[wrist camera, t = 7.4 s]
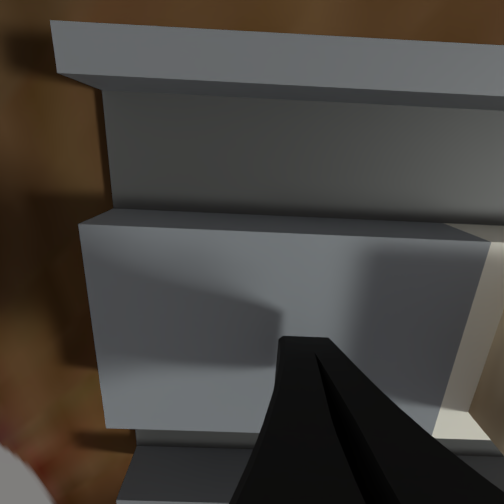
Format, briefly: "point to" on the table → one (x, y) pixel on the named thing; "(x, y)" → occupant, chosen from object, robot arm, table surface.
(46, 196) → the table surface
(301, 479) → the robot arm
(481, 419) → the maple block
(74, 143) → the table surface
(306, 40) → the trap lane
